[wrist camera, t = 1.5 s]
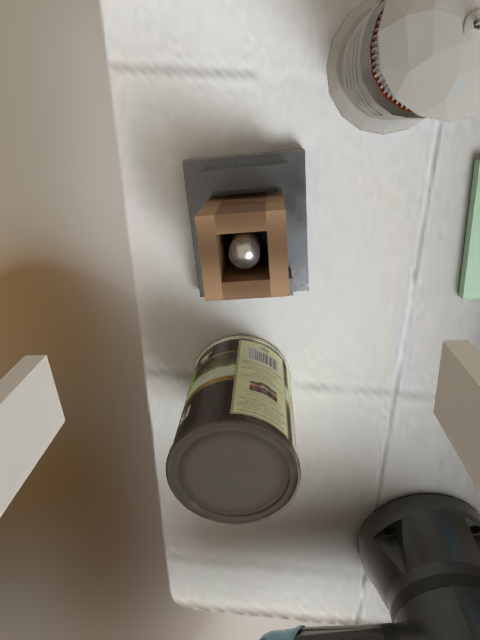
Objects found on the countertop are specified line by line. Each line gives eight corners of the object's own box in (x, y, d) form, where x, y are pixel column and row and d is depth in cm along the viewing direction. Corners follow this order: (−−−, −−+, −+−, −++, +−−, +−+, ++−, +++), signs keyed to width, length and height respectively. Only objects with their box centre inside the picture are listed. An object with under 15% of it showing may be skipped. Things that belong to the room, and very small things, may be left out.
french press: (348, 154, 37) (482, 204, 14) (300, 1, 33) (375, -288, 10) (469, 102, 35) (861, 58, 12) (433, -69, 30) (927, -645, 8)
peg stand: (306, 284, 41) (317, 327, 33) (202, 291, 42) (185, 334, 34) (303, 149, 37) (314, 156, 28) (185, 159, 37) (160, 170, 29)
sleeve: (284, 259, 39) (289, 295, 31) (218, 264, 40) (205, 301, 31) (281, 190, 37) (285, 209, 28) (210, 196, 37) (194, 216, 29)
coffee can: (194, 416, 48) (167, 521, 36) (192, 332, 44) (162, 417, 31) (287, 421, 48) (295, 530, 35) (295, 337, 44) (307, 425, 31)
